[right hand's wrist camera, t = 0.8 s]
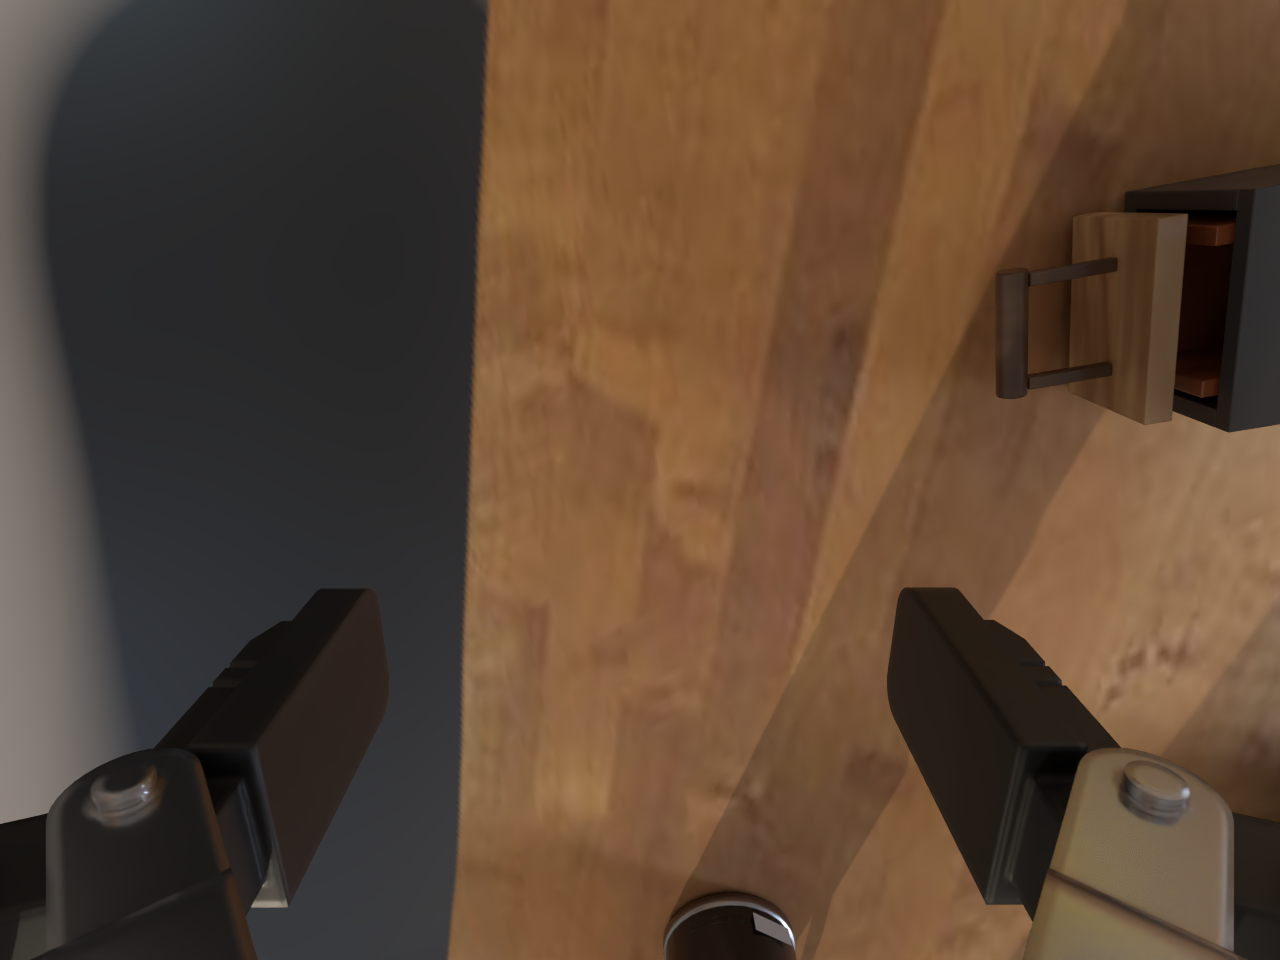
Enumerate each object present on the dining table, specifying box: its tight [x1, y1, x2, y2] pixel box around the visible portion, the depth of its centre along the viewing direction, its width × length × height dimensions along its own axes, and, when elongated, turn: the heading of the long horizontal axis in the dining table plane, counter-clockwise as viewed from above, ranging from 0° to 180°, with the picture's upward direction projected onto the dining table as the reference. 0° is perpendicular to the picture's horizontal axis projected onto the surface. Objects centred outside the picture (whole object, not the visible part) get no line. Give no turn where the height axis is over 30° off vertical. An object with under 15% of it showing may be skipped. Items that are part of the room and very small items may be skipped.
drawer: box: [995, 210, 1237, 425], centre depth 34 cm, size 20×9×6 cm, turn 100°
